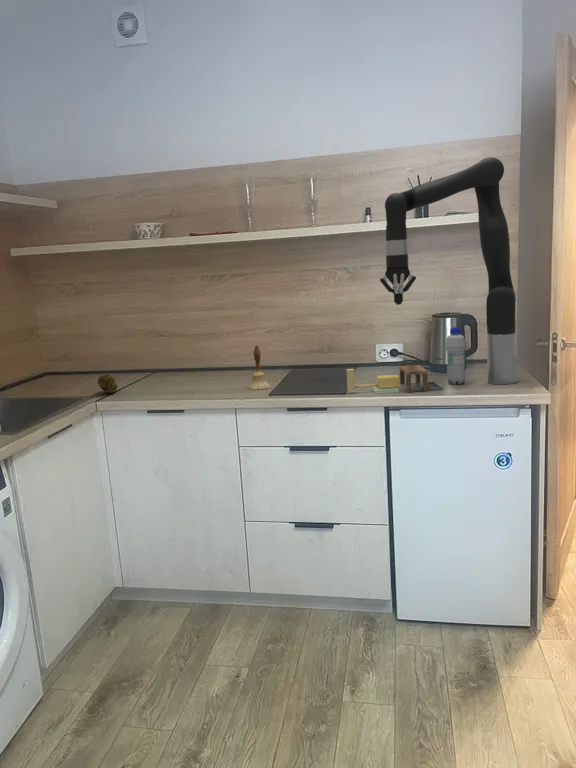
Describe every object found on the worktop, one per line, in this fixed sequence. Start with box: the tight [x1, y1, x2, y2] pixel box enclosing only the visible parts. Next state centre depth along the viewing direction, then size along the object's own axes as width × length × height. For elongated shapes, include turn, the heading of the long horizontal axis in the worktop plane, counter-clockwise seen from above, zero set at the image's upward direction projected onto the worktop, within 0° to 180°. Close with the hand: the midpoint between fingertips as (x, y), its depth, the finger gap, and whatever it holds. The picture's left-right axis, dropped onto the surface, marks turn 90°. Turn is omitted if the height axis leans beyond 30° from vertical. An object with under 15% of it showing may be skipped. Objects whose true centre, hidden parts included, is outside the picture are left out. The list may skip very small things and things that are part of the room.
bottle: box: [445, 326, 466, 386], centre depth 221 cm, size 7×7×20 cm
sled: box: [346, 368, 400, 391], centre depth 218 cm, size 18×5×7 cm, turn 92°
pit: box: [420, 381, 444, 392], centre depth 219 cm, size 5×11×1 cm, turn 2°
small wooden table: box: [399, 364, 429, 394], centre depth 219 cm, size 7×12×7 cm, turn 1°
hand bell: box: [248, 345, 271, 391], centre depth 238 cm, size 8×8×16 cm
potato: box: [97, 374, 119, 394], centre depth 246 cm, size 8×13×8 cm, turn 174°
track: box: [371, 382, 423, 395], centre depth 219 cm, size 18×8×1 cm, turn 92°
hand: (398, 304), depth 220 cm, fingers closed
